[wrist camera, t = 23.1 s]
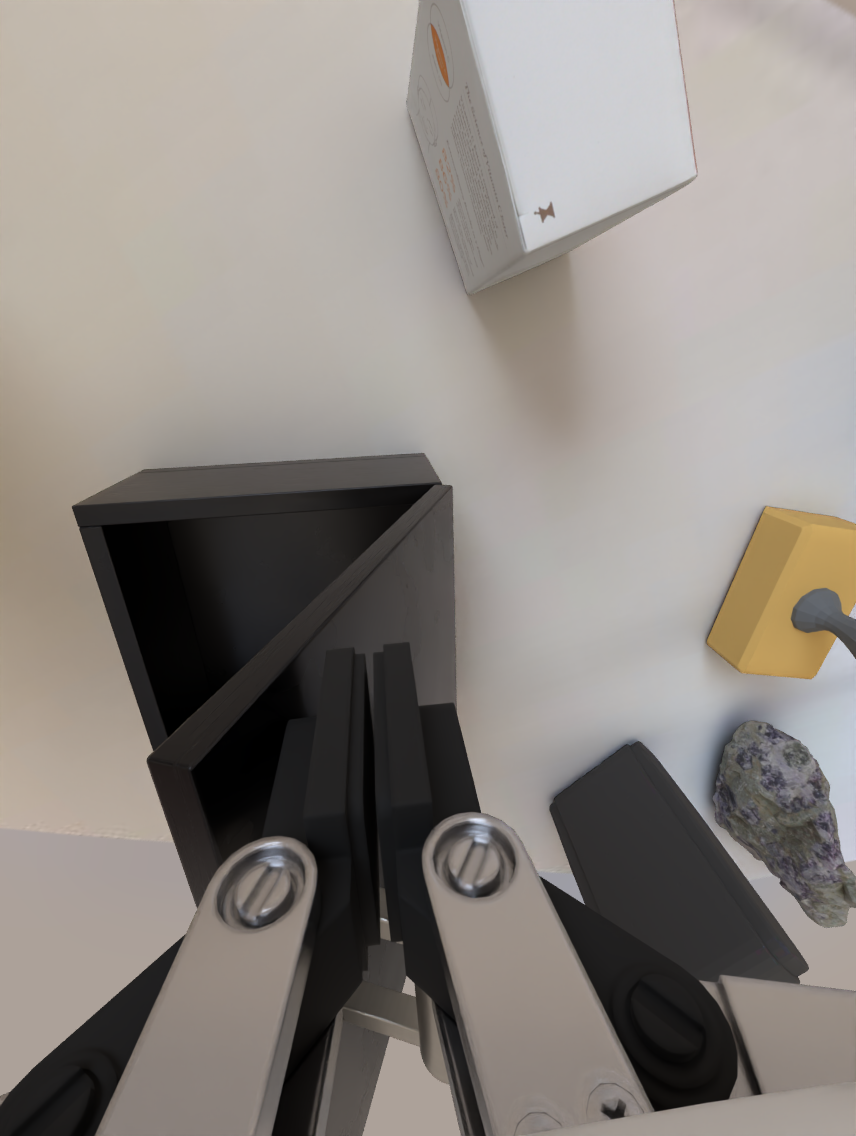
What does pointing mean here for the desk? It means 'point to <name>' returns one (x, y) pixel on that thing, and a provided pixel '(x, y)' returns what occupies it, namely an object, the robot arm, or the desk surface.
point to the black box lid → (254, 741)
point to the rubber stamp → (790, 596)
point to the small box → (546, 123)
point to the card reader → (667, 873)
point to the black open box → (229, 561)
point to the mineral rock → (785, 818)
